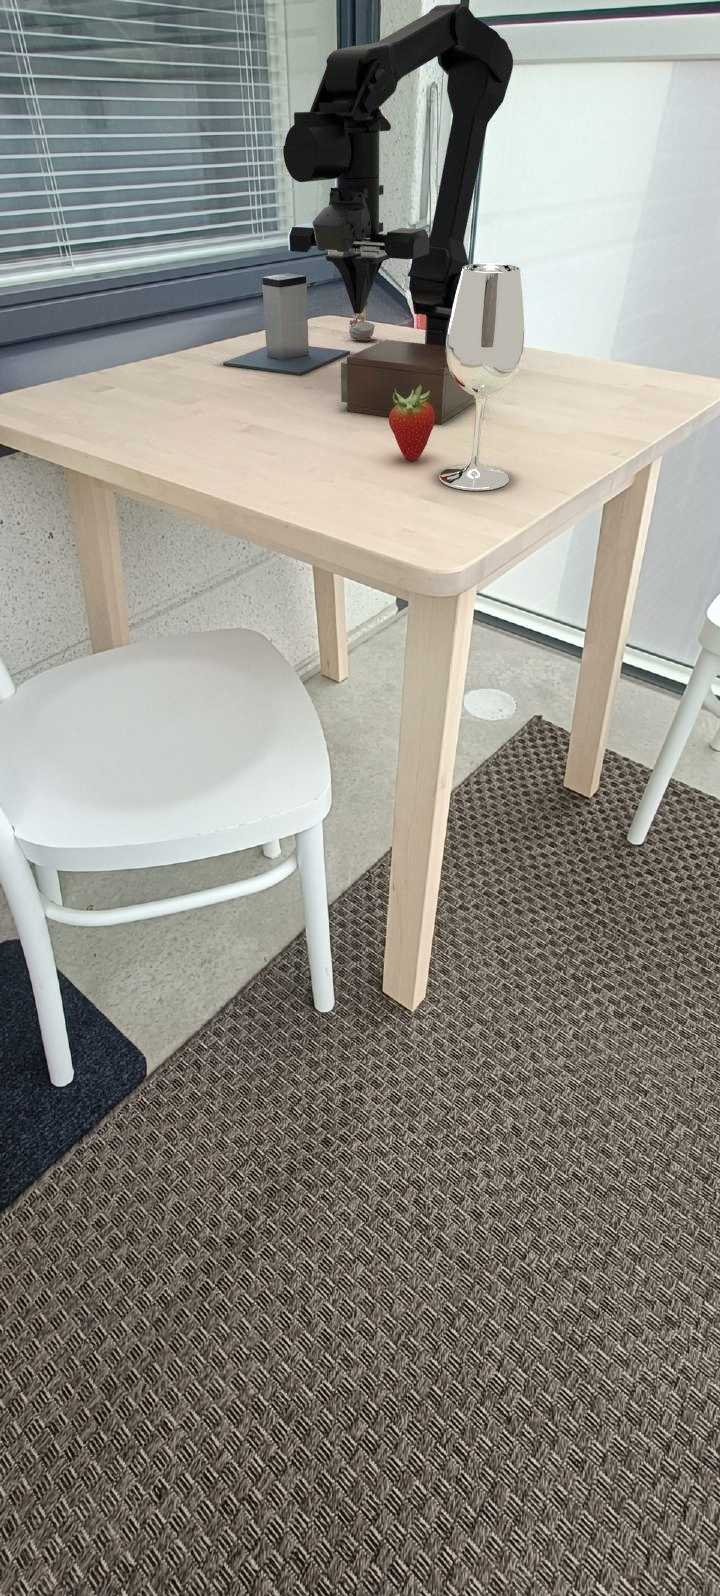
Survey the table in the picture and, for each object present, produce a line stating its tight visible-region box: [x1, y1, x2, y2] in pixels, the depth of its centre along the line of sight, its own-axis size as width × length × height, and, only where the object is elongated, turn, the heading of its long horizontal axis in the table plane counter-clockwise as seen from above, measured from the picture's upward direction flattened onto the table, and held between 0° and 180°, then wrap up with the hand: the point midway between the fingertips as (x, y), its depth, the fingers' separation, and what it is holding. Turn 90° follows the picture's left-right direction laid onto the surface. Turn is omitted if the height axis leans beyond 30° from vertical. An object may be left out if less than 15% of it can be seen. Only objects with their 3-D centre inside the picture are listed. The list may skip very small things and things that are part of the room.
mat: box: [222, 345, 351, 376], centre depth 139 cm, size 16×14×1 cm
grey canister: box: [261, 272, 310, 361], centre depth 136 cm, size 6×4×11 cm
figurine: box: [348, 300, 376, 342], centre depth 148 cm, size 5×4×6 cm
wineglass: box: [438, 262, 525, 492], centre depth 89 cm, size 8×8×20 cm
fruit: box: [388, 384, 435, 462], centre depth 98 cm, size 5×5×8 cm
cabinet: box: [346, 339, 475, 425], centre depth 116 cm, size 14×12×7 cm
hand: (358, 313), depth 122 cm, fingers closed
